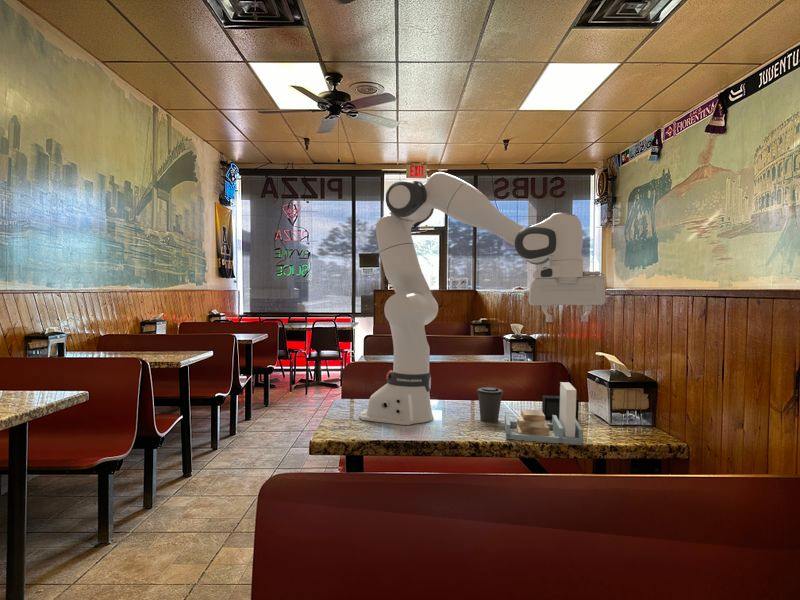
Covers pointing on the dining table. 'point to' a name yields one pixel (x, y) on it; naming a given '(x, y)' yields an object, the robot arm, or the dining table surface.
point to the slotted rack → (557, 438)
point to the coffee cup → (489, 403)
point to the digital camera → (554, 406)
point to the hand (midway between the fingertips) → (566, 321)
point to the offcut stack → (532, 423)
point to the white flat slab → (567, 409)
